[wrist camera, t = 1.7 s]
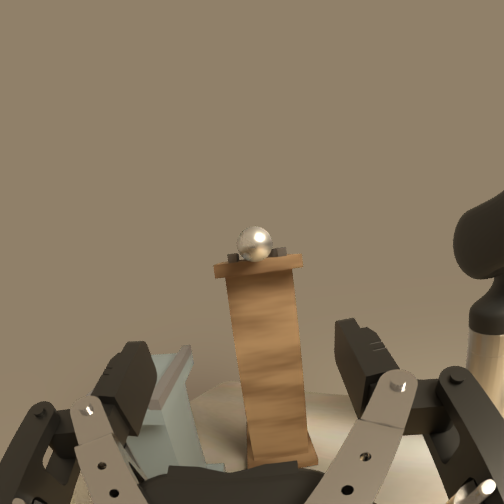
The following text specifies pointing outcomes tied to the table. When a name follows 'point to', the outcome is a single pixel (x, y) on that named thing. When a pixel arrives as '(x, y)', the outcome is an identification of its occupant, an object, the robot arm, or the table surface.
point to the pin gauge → (254, 244)
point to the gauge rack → (169, 420)
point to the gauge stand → (269, 356)
